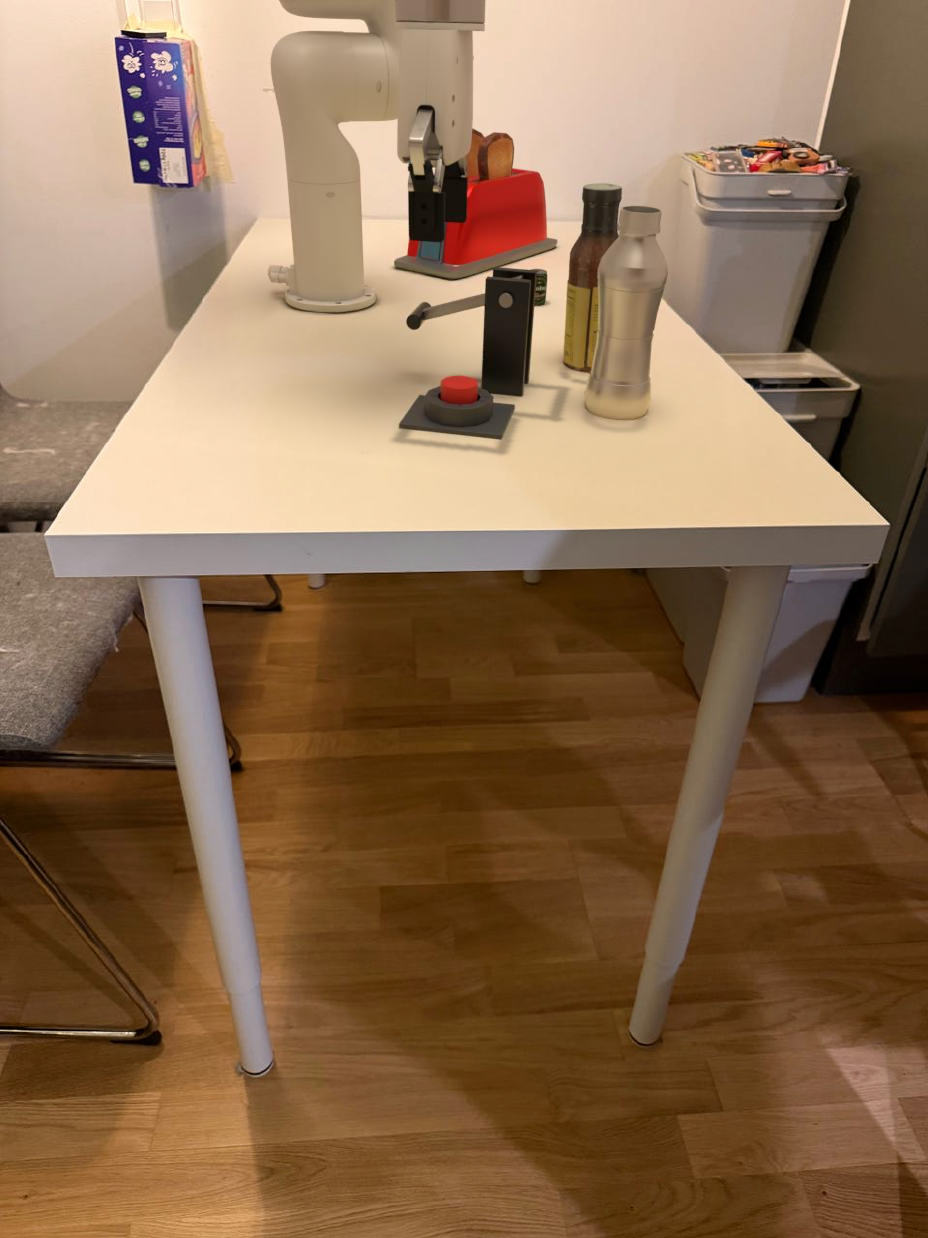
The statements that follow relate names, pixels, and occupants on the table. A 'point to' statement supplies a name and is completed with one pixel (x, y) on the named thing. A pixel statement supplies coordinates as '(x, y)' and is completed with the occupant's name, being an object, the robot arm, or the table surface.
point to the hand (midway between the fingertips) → (439, 230)
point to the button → (459, 390)
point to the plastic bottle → (627, 317)
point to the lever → (444, 309)
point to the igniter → (459, 415)
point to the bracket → (508, 330)
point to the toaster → (488, 216)
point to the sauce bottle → (588, 272)
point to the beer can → (540, 286)
